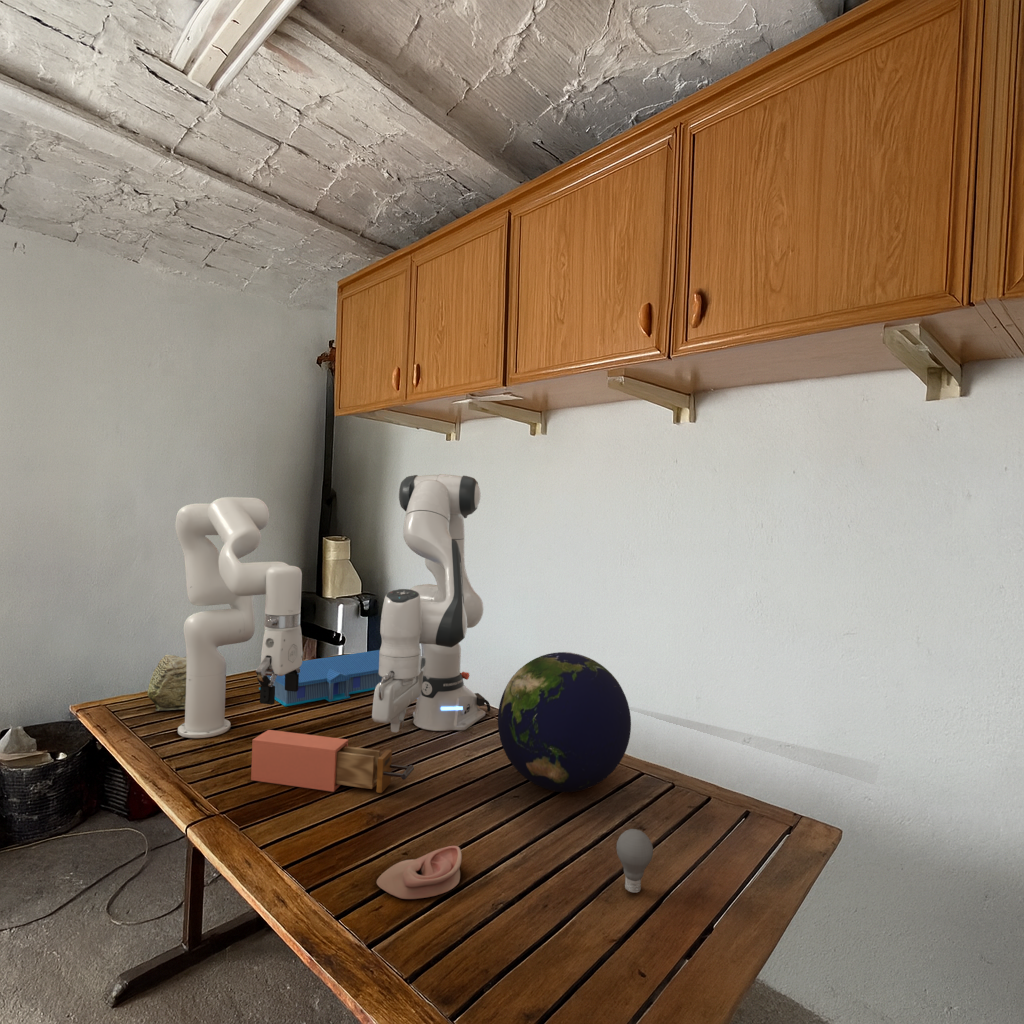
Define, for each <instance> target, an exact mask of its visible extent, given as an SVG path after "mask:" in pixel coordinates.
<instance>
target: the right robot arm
mask: <svg viewBox="0 0 1024 1024" xmlns="http://www.w3.org/2000/svg"><path fill="white" fill-rule="evenodd" d="M481 497H482V496H481V489H480V486H479V482H478V481H477V479H475V477H472V476H468V475H462V476H461V475H456V474H455V475H454V474H447V473H445V474H443V473H440V474H425V475H424V474H423V475H418V474H413V475H409V476H406V477H405V478H403V480H402V481H401V482H400V485H399V488H398V501H399V505H400V507H401V509H402V510H404V512H405V516H404V521H403V532H402V535H403V539H404V542H405V544H406V545H407V547H408V548H409V549H410V550H411V551H412V552H413V553H415V554H416V555H418V556H419V557H421V558H424V562H425V567H426V569H427V570H428V571H429V572H430V573H431V574H432V575H433V577H434V579H435V582H436V584H433V583H424V584H416V585H414V586H412V587H411V588H410V589H409V588H398V589H393V590H390V591H389V592H387V593H386V594H385V596H384V600H383V604H382V609H381V617H380V628H379V631H380V632H379V633H380V634H379V635H380V637H381V644H380V648H379V650H380V651H379V675H380V676H381V677H382V679H381V682H380V683H379V684H377V686H376V688H375V690H374V693H373V698H372V699H373V700H372V710H371V719H372V721H373V722H374V723H379V724H389V723H390V732H392V733H398V732H399V731H401V730H402V729H403V728H404V725H405V722H404V721H405V717H406V714H407V710H408V709H407V708H408V707H409V706H410V705H411V704H412V703H414V702H415V701H416V703H415V709H414V710H415V711H413V712H412V718H413V722H412V723H413V724H414V725H415V726H416V727H417V728H420V729H423V730H427V731H434V732H444V731H465V730H467V729H468V728H470V727H471V726H473V725H475V723H477V722H478V721H480V720H482V719H483V718H484V717H486V711H485V710H483V708H482V709H481V708H479V707H484V706H485V705H486V709H487V712H491V710H492V709H491V704H490V702H489V701H488V700H487V699H486V698H485V697H484V696H483V695H481V694H480V693H478V692H473V691H472V690H471V689H470V688H469V687H467V686H466V685H465V682H464V680H466V681H467V680H469V678H470V672H467V671H461V663H462V658H461V657H462V648H461V644H460V643H461V642H462V641H463V640H465V638H466V635H467V632H468V629H470V628H471V629H472V628H474V627H476V626H477V625H478V624H479V623H480V622H481V620H482V618H483V615H484V610H485V608H484V607H485V606H484V602H483V599H482V598H481V596H480V595H479V594H478V593H477V592H476V591H475V590H474V588H473V586H472V583H471V581H470V580H469V576H468V573H467V568H466V561H465V558H466V557H465V535H466V534H465V533H466V532H465V520H464V519H467V518H468V516H470V515H472V514H473V513H475V512H476V511H477V509H478V507H479V504H480V502H481ZM420 645H421V646H420Z"/></svg>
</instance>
